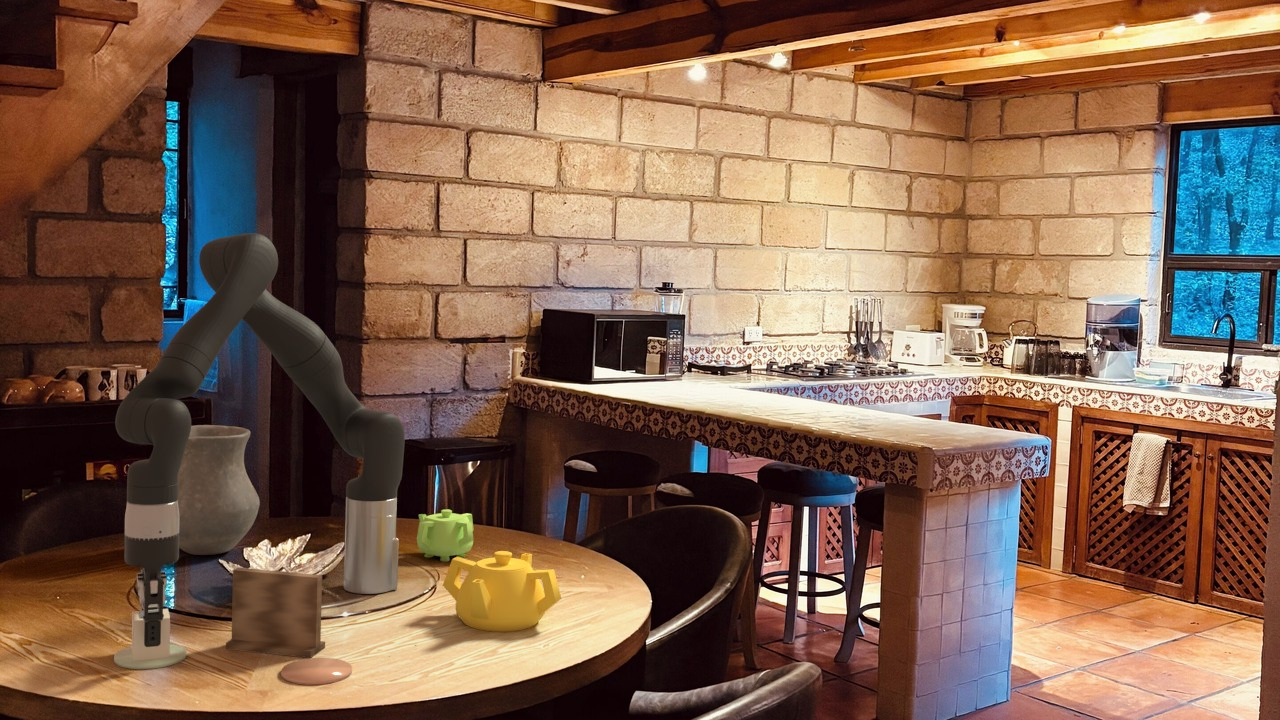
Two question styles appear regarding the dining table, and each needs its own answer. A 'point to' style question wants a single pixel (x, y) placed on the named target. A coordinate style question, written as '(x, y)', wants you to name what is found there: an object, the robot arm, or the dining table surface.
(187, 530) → the vase
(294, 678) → the terracotta coaster
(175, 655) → the sage coaster
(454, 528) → the teapot
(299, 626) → the occluder board
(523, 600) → the teapot
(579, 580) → the dining table surface
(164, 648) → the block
